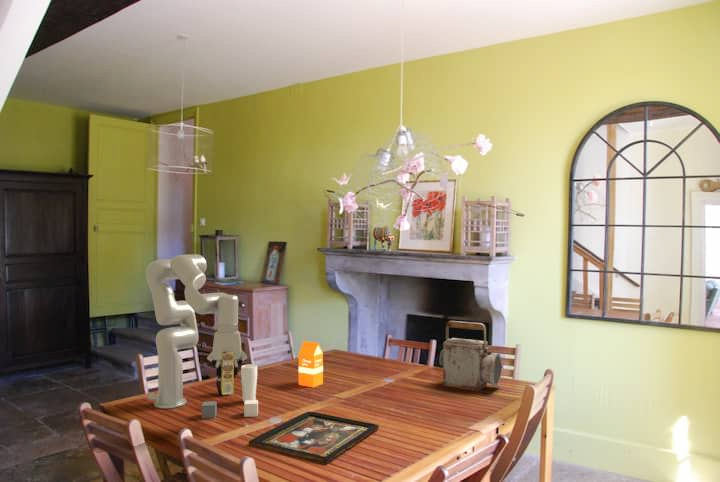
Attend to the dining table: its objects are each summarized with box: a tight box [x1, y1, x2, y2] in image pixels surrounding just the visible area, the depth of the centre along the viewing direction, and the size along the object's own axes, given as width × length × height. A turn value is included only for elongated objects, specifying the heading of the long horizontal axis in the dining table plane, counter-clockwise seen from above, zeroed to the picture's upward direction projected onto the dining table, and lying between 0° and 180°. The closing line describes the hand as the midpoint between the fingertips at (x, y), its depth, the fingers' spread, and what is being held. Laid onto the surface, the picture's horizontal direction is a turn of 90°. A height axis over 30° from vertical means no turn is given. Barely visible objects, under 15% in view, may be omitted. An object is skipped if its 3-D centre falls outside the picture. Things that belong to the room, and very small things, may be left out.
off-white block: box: [243, 399, 259, 418], centre depth 212 cm, size 5×5×5 cm
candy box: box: [220, 352, 234, 396], centre depth 201 cm, size 9×4×15 cm, turn 19°
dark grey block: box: [201, 400, 218, 419], centre depth 210 cm, size 5×5×5 cm
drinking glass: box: [240, 363, 258, 403], centre depth 228 cm, size 7×7×15 cm
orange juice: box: [298, 340, 324, 388], centre depth 256 cm, size 8×9×20 cm
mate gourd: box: [215, 377, 230, 397], centre depth 239 cm, size 8×8×15 cm
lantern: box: [438, 320, 503, 392], centre depth 254 cm, size 16×27×30 cm, turn 60°
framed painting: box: [248, 411, 380, 465], centre depth 188 cm, size 38×35×3 cm
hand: (227, 376), depth 201 cm, fingers closed on candy box, 4 cm apart
